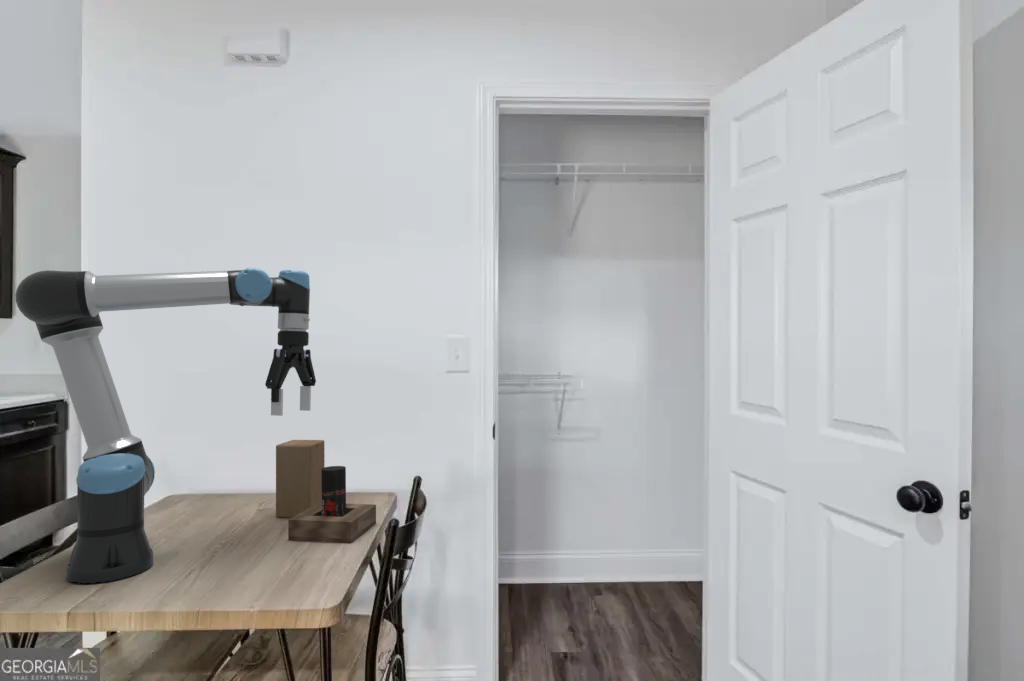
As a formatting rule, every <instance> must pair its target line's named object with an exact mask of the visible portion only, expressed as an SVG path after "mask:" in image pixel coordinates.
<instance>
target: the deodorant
mask: <svg viewBox="0 0 1024 681" xmlns="http://www.w3.org/2000/svg"><path fill="white" fill-rule="evenodd" d="M346 471H347V467H346V466H345V465H333V466H324V468H322V469H321V483H322V516H334V517H343V516H344V515H346V504H347V472H346Z"/></svg>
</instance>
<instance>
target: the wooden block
mask: <svg viewBox="0 0 1024 681" xmlns="http://www.w3.org/2000/svg"><path fill="white" fill-rule="evenodd" d="M324 467H325V440H324V439H291V440H289V441H286V442H282V443H280V444H276V446H275V517H276V518H285V517H288V519H291V518H292V517H294V516H296V515H298V514H300V513H301V512H303V511H305V510H307V509H309V508H311V507H312V506H314V505H316V504H318V503H322V483H321V469H322V468H324Z"/></svg>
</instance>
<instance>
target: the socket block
mask: <svg viewBox="0 0 1024 681" xmlns="http://www.w3.org/2000/svg"><path fill="white" fill-rule="evenodd" d="M287 521H288V524H287V526H288V527H287V528H288V529H287V530H288V533H287V534H288V535H287V536H288V539H287V540H288V541H289V540H292V542H293V541H296V542H312V541H325V542H324V543H335V542H340V543H339V544H352V543H353V542H354V541H356V540H357V539H359V537H361V536H362V535H363V534H364V533H366V532H367V531H369V530H370V529H371V528H372V527H373V526H375V525H376V524H377V504H368V503H366V504H365V503H364V504H363V503H346V515H344V516H343V517H334V516H322V503H318V504H316V505H314V506H312V507H311V508H309V509H307V510H305V511H303V512H301V513H300V514H298V515H296V516H294V517H292V518H288V520H287Z"/></svg>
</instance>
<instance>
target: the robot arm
mask: <svg viewBox="0 0 1024 681" xmlns="http://www.w3.org/2000/svg"><path fill="white" fill-rule="evenodd" d="M310 293H311V288H310V275H309V273H308V272H306V271H303V270H297V269H290V270H289V269H283V270H280V271H279V273H278V277H270V276H269V274H268V273H267V272H265V270H262V269H261V268H259V267H258V268H257V267H248V268H245V269H239V270H238V269H237V270H216V271H215V270H214V271H211V270H209V271H208V270H207V271H184V272H163V273H162V272H161V273H160V272H159V273H134V274H133V273H132V274H111V275H96V274H94V273H92V272H91V271H90V270H88V271H87V270H85V271H84V270H82V271H81V270H78V271H75V270H73V271H66V270H63V271H62V270H41V271H40V270H39V271H36V272H34V273H31V274H30V275H27V276H26V277H25V278H23V279H22V280H21V282H20V283H19V284H18V286H17V288H16V291H15V294H14V296H15V302H16V306H17V308H18V310H19V311H20V312H21V314H22V315H23V316H24V317H26V319H28V320H30V321H32V322H34V323H35V326H36V329H37V331H38V334H39V337H40V340H41V342H43V343H45V344H47V345H50V346H51V347H52V348H53V351H54V354H55V357H56V359H57V363H58V366H59V369H60V372H61V374H62V377H63V380H64V383H65V386H66V389H67V392H68V395H69V397H70V401H71V404H72V406H73V409H74V411H75V412H74V413H75V414H76V417H77V420H78V424H79V426H80V429H81V431H82V435H83V438H84V442H85V443H86V447H87V449H86V451H85V452H84V454H83V456H82V460H83V462H82V463H81V464H80V465H79V467H78V470H77V475H76V479H75V480H76V485H77V493H76V494H77V497H76V498H77V500H76V501H77V507H76V508H77V511H76V512H77V516H76V518H77V519H76V520H77V523H76V525H77V526H76V527H77V532H76V536H77V537H76V540H75V543H74V546H73V549H72V552H71V556H70V559H69V561H68V563H67V565H66V568H65V569H66V572H65V573H66V575H65V576H66V578H65V579H66V581H68V580H69V581H71V582H70V583H72V582H78V583H77V584H80V583H90V584H97V583H96V582H101V583H106V581H108V582H112V581H113V580H114V581H118V580H122V579H126V578H129V576H130V577H133V576H136V575H138V574H141V573H143V572H145V571H147V570H148V569H150V568H151V567H152V566H153V565H154V551H153V548H151V544H150V542H149V539H148V536H147V533H146V531H145V496H146V494H147V493H148V492H149V491H150V490H151V487H152V485H153V483H154V480H155V474H156V471H155V466H154V465H155V464H154V463H153V461H152V460H151V458H150V457H149V456H148V455H147V452H146V450H145V447H144V444H143V441H142V438H139V437H137V436H135V435H133V434H132V433H131V430H130V427H129V424H128V422H127V418H126V415H125V411H124V409H123V406H122V403H121V399H120V398H119V397H120V396H119V394H118V391H117V388H116V386H115V383H114V379H113V375H112V374H111V369H110V368H109V364H108V361H107V358H106V356H105V353H104V349H103V346H102V344H101V341H100V339H99V338H100V337H99V335H100V333H102V331H103V329H104V326H103V323H102V320H101V316H100V313H102V312H114V311H115V312H116V311H117V312H118V311H130V310H145V309H163V308H178V307H179V308H180V307H193V306H195V307H196V306H207V305H208V306H210V305H223V304H224V305H225V304H227V305H228V304H229V305H232V306H240V307H244V306H245V307H272V308H275V307H277V308H278V311H277V312H278V313H277V329H279V331H278V332H277V345H278V346H281V348H274V349H273V355H272V356H273V357H272V360H271V364H270V368H269V370H268V374H267V376H266V377H267V378H266V380H265V383H264V384H265V387H266V388H267V390H270V396H271V397H270V404H271V405H270V416H277V417H278V416H280V417H281V416H283V413H284V412H283V411H284V410H283V409H284V389H283V388H282V387H283V385H284V383H285V381H286V379H287V376H288V374H289V371H290V369H292V368H294V369H295V371H296V373H297V376H298V378H299V381H300V383H301V385H300V387H299V389H300V390H299V411H304V412H305V411H307V412H308V411H309V412H310V411H311V407H312V406H311V404H312V403H311V401H312V400H311V399H312V398H311V397H312V396H311V395H312V387H315V385H316V382H317V380H316V379H317V378H316V375H315V371H314V366H313V361H312V356H311V352H312V351H311V349H305V348H304V347H307V346H309V337H310V336H309V334H310V333H309V332H308V331H307V330H309V322H310V317H309V316H310V300H311V299H310V297H311V296H310V295H311V294H310ZM140 572H141V573H140ZM135 574H136V575H135ZM132 575H133V576H132ZM125 577H126V578H125ZM117 579H118V580H117ZM69 581H68V582H69Z"/></svg>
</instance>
